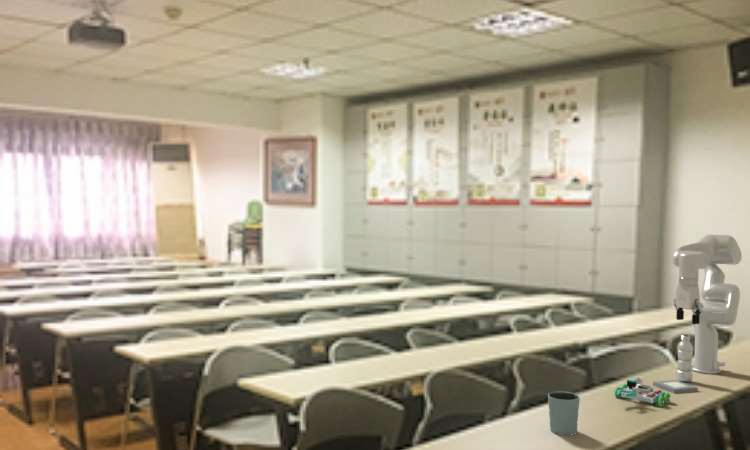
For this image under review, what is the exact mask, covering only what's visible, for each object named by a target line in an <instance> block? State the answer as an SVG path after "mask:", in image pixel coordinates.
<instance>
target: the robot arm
mask: <svg viewBox="0 0 750 450" xmlns="http://www.w3.org/2000/svg"><path fill="white" fill-rule="evenodd" d="M742 257H743V256H742V250H741V248H740V245H739V244H738V241H737V240H736V239H735V237H733V236H732V235H728V234H706V235H704V236H703V237H701V238H700V240H699V241H698V242H694V243H689V244H686V245H683V246H682V245H681V246H680V247H678V248H677V249H676V250H675V252H674V253H673V255H672V263H673V265H674V266H675V267H677V268H678V284H677V287H676V291H675V292H676V293H675V298H673V303H674V307H675V311H676V317H675V318H676V320H677V321H679V320H684V315H685V314H684V313H685V310H689V311H691V312H692V315H691V324H692V325H694V360H693V361H694V362H693V363H694V364H691V365H692V372H696V373H700V374H708V375H710V374H711V375H715V374H721V373H722V369H721V368H720V367H725V366H726V363H725V361H718V353H719V352H718V351H719V350H718V348H719V332H718V330H717V329H716V328H715V326H714V325H720V326H725V327H726V326H727V327H728V326H729V327H730V326H733V325H735V323H736V320H737V316H738V310H739V304H740V297H741V292H740V288H739V287H738V286H737V284H733V283H726V282H725V280H726V279H725V278H726V275H725V273H724V271H723V270H722V269H721V268H720V267H719V266H718V265H719V264H720V265H730V266H731V265H733V266H735V265H739V264H740V262H741V261H742ZM699 270H704V278H703V281H702V282H703V283H702V288H701V293H700V287H699V273H700V272H699ZM701 299H702V300H703V301H704V302H703V301H701Z"/></svg>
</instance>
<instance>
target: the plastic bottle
mask: <svg viewBox="0 0 750 450" xmlns="http://www.w3.org/2000/svg"><path fill="white" fill-rule="evenodd" d="M676 347H677V348H676V349H677V350H676V351H677V359H678V360H677V370H676V374H675V375H676V380H678V381H681V382H684V383H686V382H687V383H688V382H689V383H690V382H691V381H692V380H693V376H694V375H693V370H692V365H693V364H692V363H693V362H692V361H693V353H694V346H693V344H692V343H691V335H689V334H681V335H680V341H679V342H678V344H677V346H676Z"/></svg>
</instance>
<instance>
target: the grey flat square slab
mask: <svg viewBox="0 0 750 450" xmlns="http://www.w3.org/2000/svg"><path fill="white" fill-rule="evenodd" d="M652 386H655V387H656V388H658V389H659V388H660V390H661V389H662V390H665V391H667V392H668V393H672V394H680V393H690V392H691V393H692V392H698V391H699V387H697V386H694V385H691V384H690V383H686V382H683V381H680V380H678V379H672V380H661V381H660V380H659V381H657V380H656V381H653V382H652Z"/></svg>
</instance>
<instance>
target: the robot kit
mask: <svg viewBox="0 0 750 450" xmlns="http://www.w3.org/2000/svg"><path fill="white" fill-rule="evenodd" d="M614 396H615V398H616V397H617V399H618V398H619V399H622V398H627V399H632V400H637V401H642V402H646V403H650V404H654V403H655V406H656V407H659V408H662V406H663V407H664V404H669V403H670V400H671V393H670V392H669V391H667V392H666V391H664V392H663V391H662V390H661V388H660V389H659V388H656V389H654V388H653V387H651V386H650V385H648V384H643V379H641V378H640V377H635V378H634V379H631V378H629V379H626V383H623V384H622V385H621V387H620V386H617V387H615V389H614ZM621 397H622V398H621Z"/></svg>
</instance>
